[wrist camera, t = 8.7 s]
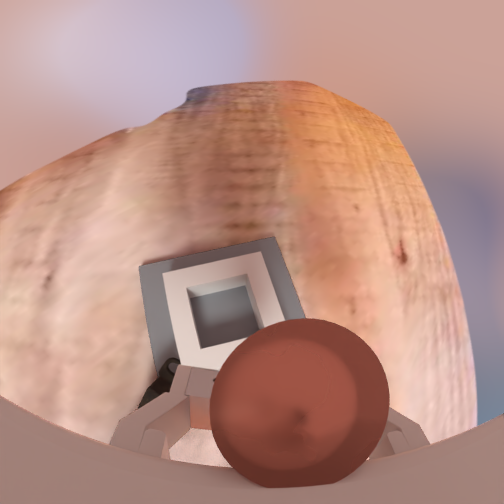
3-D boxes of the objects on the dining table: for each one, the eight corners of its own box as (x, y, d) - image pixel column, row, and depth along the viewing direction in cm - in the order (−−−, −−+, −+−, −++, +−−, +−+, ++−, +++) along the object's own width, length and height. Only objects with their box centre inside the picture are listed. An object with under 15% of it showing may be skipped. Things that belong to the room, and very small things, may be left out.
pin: (229, 438, 13) (241, 513, 4) (210, 375, 15) (187, 343, 5) (295, 419, 14) (406, 444, 5) (276, 358, 16) (357, 298, 6)
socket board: (169, 411, 23) (159, 414, 20) (140, 270, 30) (131, 253, 27) (320, 370, 27) (334, 365, 23) (273, 240, 34) (278, 221, 30)
